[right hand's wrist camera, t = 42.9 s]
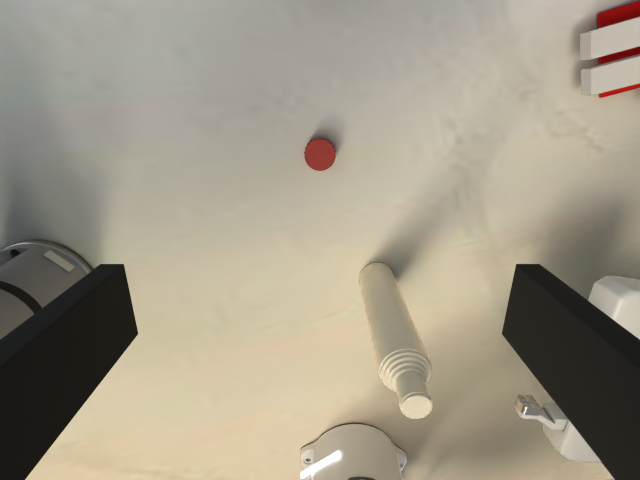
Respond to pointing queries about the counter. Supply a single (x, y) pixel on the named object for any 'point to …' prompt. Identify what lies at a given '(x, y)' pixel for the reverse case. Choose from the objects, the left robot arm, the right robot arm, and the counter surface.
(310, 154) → the cap
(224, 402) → the counter surface
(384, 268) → the bottle
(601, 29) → the toy
